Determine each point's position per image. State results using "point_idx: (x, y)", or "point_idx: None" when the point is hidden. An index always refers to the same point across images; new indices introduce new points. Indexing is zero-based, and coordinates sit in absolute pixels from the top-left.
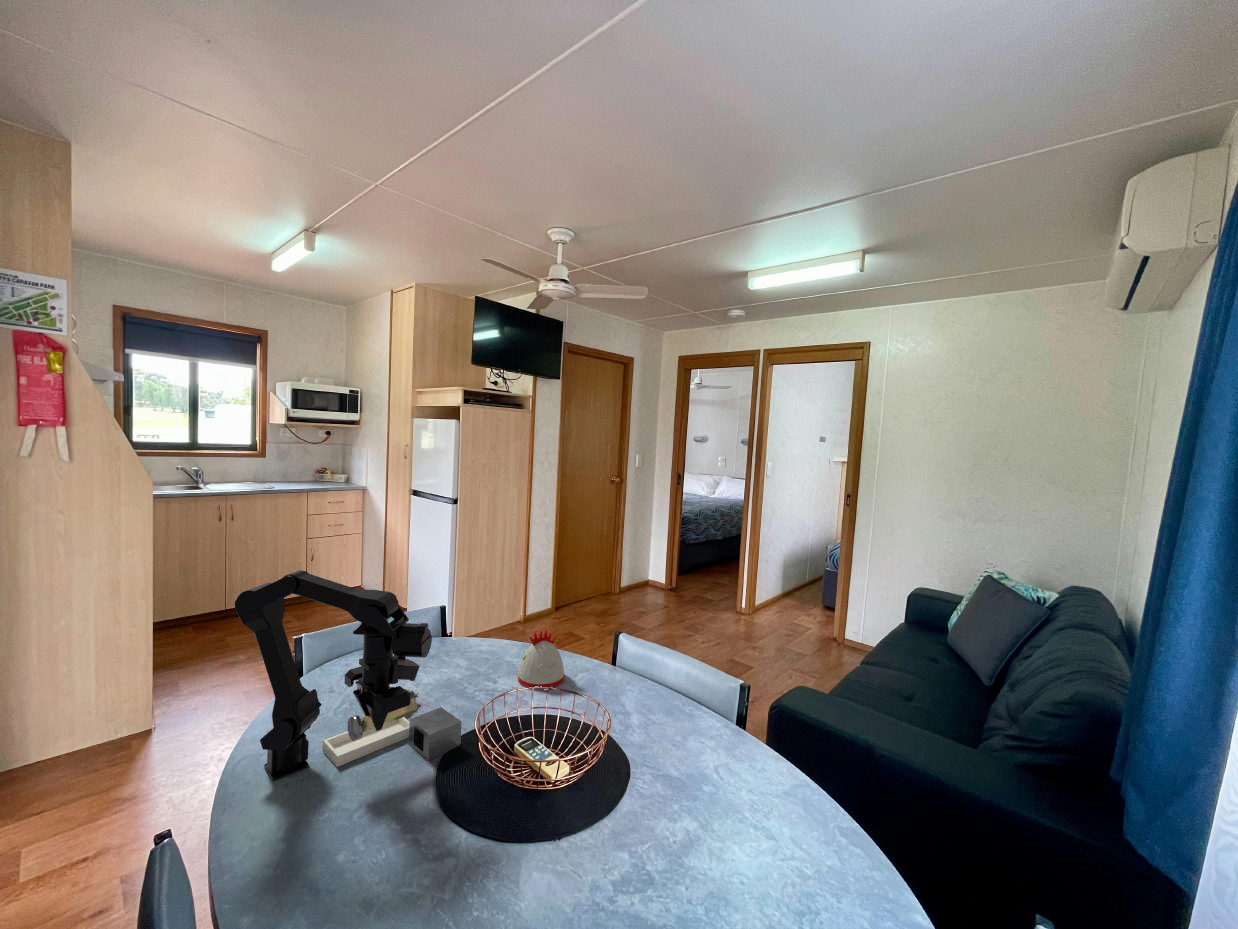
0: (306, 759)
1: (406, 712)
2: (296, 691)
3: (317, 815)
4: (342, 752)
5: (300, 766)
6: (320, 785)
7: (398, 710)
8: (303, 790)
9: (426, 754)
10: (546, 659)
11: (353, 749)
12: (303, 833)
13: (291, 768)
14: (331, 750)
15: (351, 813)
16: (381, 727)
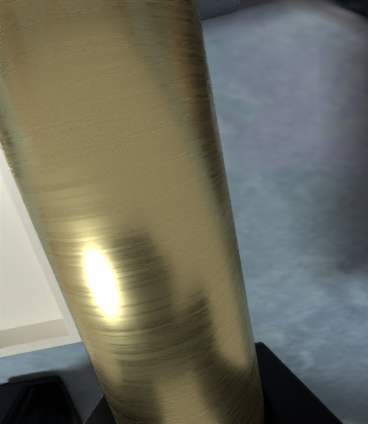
0: (28, 387)
1: (215, 110)
2: None
3: (293, 370)
4: (25, 300)
5: (56, 396)
6: None
7: (216, 250)
8: None
9: (218, 8)
10: None
11: (59, 292)
12: (336, 395)
13: (64, 419)
14: (31, 350)
15: (345, 308)
16: (271, 357)
